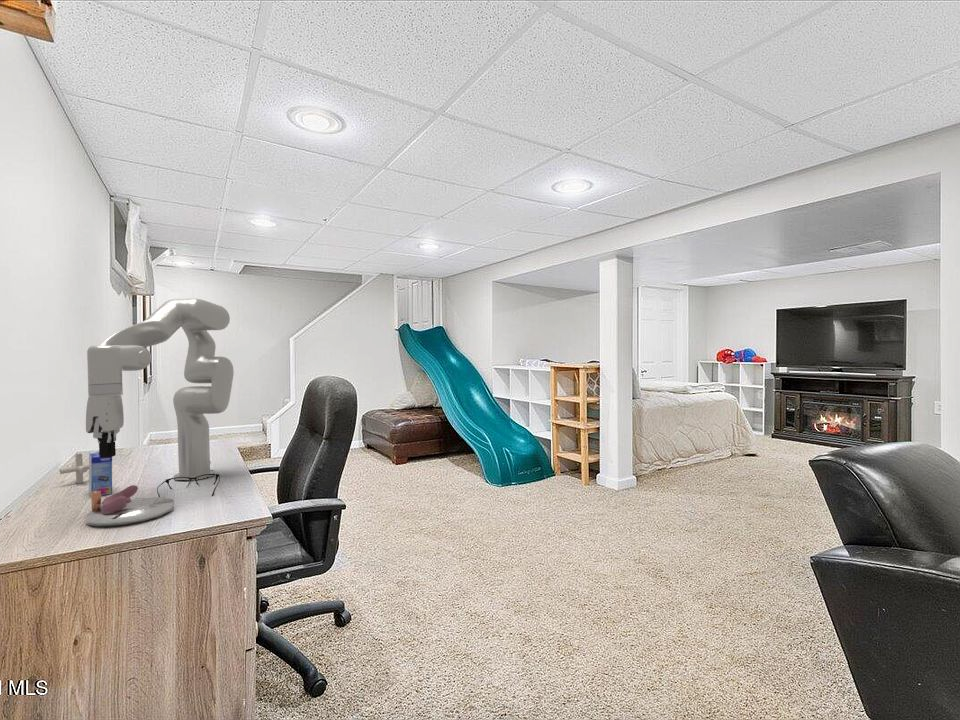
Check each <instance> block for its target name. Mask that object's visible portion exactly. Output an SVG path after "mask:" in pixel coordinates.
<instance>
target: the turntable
mask: <svg viewBox="0 0 960 720" xmlns="http://www.w3.org/2000/svg"><path fill="white" fill-rule="evenodd" d="M90 497H91V498H90V499H91V500H90V501H91V510H89V511H88V513H86V515H85V522H86V524H87V525H89V526H92V527H93V526H94V527H115V526H125V525H131V524H134V523H140V522H145V521H149V520H153V519H155V518H158V517H161V516H164V515H166V514H168V513H170V512H172V511H173V509H174V507H175V505H174V504H175V502H174V500H173V499H171V498H169V497H163V496H160V497H159V496H155V497H154V496H153V497H140V498H134V499H133V498H132V499H131V502H130V503H128V504H127V507H125V508H123V509H119V510H117V511H115V512H112V513H109V514H102V513H101V510H100V509H101V504H102V495H101V491H100V490H98V491H93V492H91V495H90Z"/></svg>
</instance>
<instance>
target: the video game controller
mask: <svg viewBox="0 0 960 720" xmlns="http://www.w3.org/2000/svg"><path fill="white" fill-rule="evenodd" d="M138 490H139V487H138V485H133V484H132V485H129V486H127V487H126V488H124V489H123V490H120V491H118V492H115V493H114V494H113V493H112V494H111V495H109V496H107V497H105V498H104V499H103V500H102V501H101V509H100V510H101V513H102V514H109V513H112V512H115V511H117V510H119V509H123V508H125V507H127V504H128V503H130V502H131V497H132V496H134V495H135V494H136V493H137V491H138Z"/></svg>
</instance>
